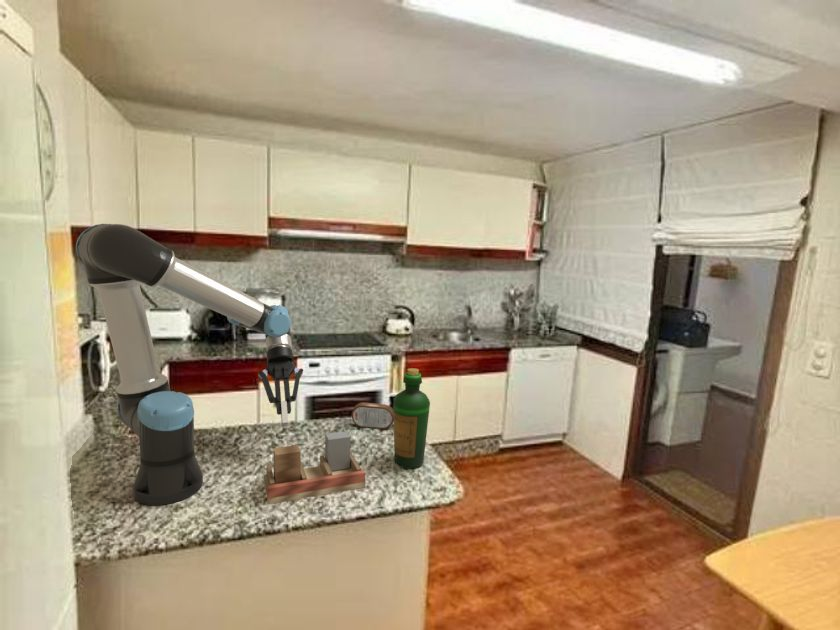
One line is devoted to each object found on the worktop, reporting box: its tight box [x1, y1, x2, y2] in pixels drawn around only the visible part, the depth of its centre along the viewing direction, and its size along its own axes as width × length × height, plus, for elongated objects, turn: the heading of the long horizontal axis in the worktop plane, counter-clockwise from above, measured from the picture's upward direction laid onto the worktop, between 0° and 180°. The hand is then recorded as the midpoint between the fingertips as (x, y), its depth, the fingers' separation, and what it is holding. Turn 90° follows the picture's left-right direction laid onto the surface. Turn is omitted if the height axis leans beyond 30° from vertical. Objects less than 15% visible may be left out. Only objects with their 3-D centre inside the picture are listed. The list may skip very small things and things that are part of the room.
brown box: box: [273, 444, 302, 484], centre depth 113 cm, size 6×5×9 cm
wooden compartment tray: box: [263, 451, 366, 505], centre depth 117 cm, size 24×12×4 cm, turn 114°
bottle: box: [393, 367, 431, 469], centre depth 130 cm, size 11×11×28 cm
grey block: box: [324, 430, 352, 471], centre depth 123 cm, size 6×5×9 cm
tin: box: [351, 401, 394, 430], centre depth 156 cm, size 15×3×8 cm, turn 84°
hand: (285, 424), depth 125 cm, fingers closed
